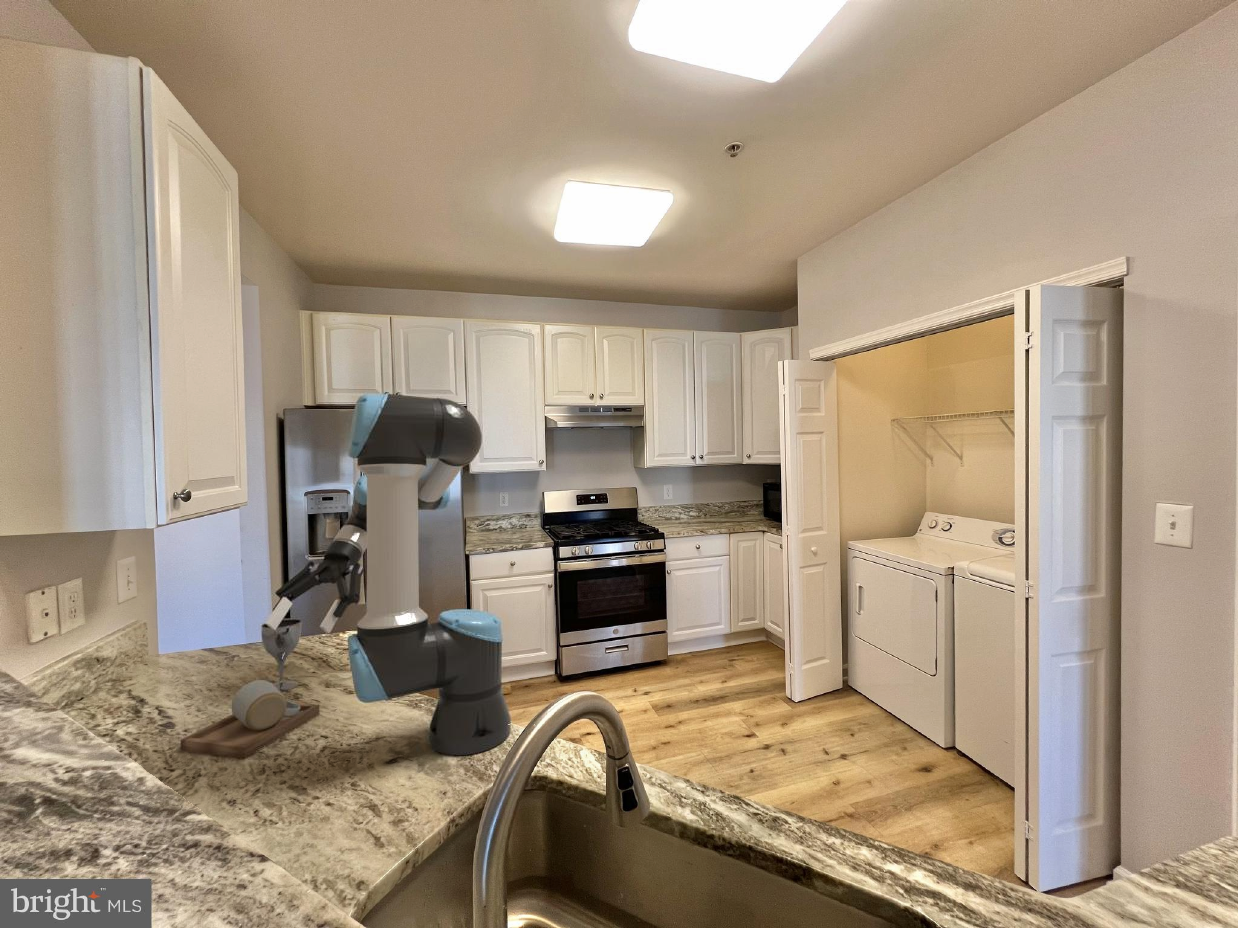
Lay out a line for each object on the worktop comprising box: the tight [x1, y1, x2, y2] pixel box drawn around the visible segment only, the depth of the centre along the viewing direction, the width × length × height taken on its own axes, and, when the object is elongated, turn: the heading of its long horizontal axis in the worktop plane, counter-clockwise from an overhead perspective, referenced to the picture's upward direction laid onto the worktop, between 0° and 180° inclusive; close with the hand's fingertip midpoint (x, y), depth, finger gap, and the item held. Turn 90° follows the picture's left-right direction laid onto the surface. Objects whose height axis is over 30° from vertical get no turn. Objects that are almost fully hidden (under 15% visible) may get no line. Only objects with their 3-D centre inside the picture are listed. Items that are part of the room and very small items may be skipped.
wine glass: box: [260, 617, 302, 693], centre depth 121 cm, size 8×8×15 cm
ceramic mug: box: [231, 679, 300, 730], centre depth 101 cm, size 11×8×8 cm
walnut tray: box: [180, 702, 321, 760], centre depth 99 cm, size 14×17×2 cm
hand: (296, 628), depth 110 cm, fingers open, 13 cm apart
